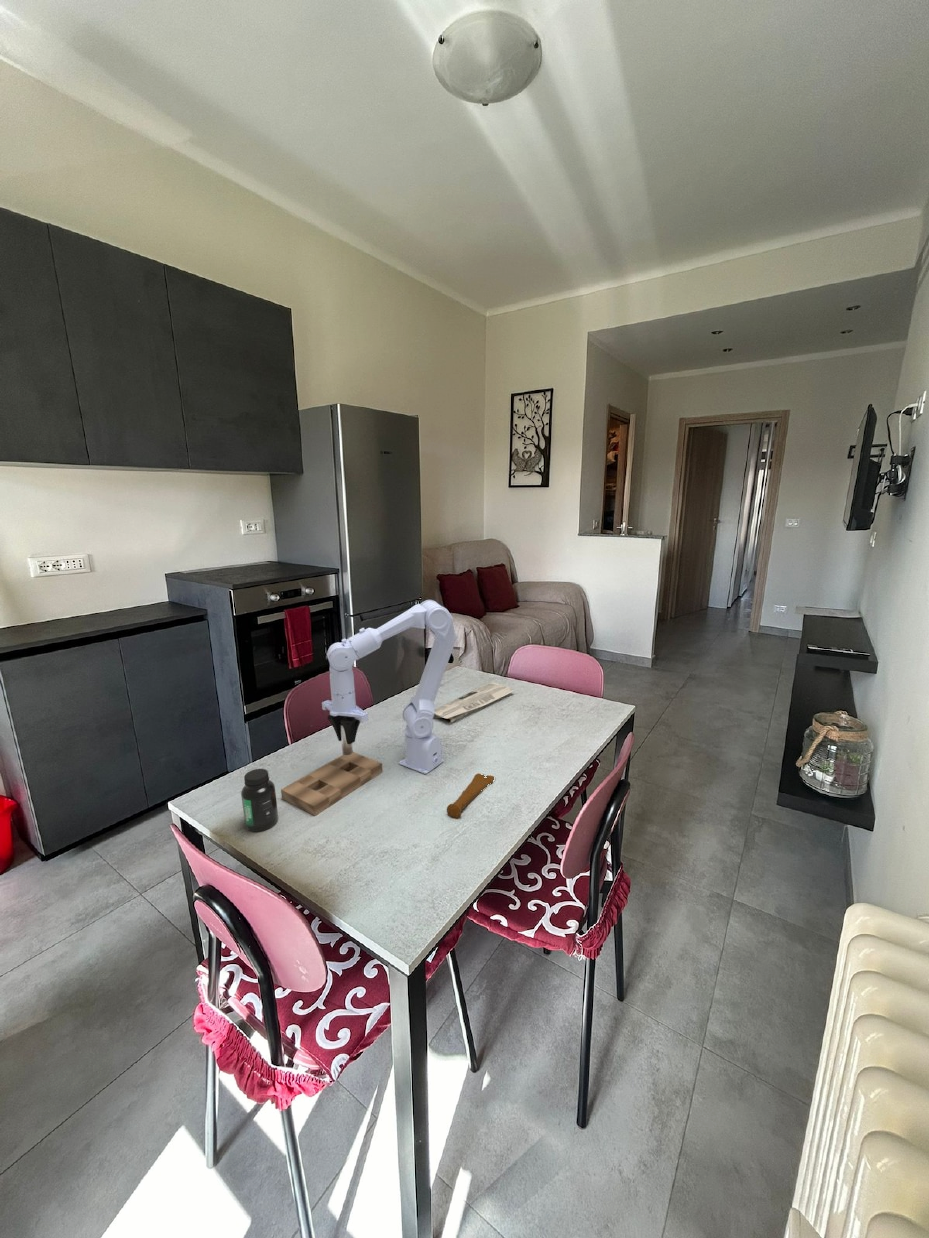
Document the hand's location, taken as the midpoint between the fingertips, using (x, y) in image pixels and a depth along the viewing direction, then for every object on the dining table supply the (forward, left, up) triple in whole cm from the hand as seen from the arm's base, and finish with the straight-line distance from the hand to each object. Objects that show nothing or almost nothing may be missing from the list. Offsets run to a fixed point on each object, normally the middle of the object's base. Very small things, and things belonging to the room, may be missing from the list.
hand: (346, 741), depth 125 cm
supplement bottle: (+2, +24, -10) cm, 26 cm away
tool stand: (0, +5, -10) cm, 11 cm away
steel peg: (0, 0, -3) cm, 3 cm away
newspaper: (-2, -55, -10) cm, 56 cm away
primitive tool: (-31, -10, -10) cm, 34 cm away
